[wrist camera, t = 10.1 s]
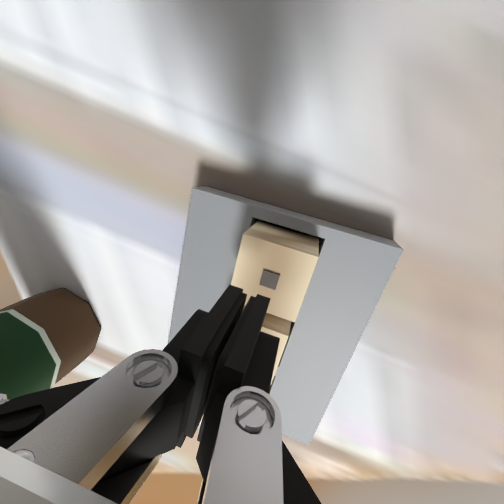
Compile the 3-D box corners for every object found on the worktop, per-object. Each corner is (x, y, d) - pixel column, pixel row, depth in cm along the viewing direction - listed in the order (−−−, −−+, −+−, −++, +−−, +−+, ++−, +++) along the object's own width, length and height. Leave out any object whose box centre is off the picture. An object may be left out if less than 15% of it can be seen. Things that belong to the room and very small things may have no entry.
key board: (393, 240, 16) (403, 249, 15) (309, 422, 22) (308, 445, 21) (205, 185, 18) (192, 187, 16) (173, 367, 24) (161, 383, 22)
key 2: (293, 306, 19) (288, 337, 15) (279, 349, 20) (270, 386, 17) (242, 288, 19) (225, 314, 16) (231, 331, 21) (213, 363, 17)
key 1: (318, 239, 16) (318, 257, 13) (299, 293, 18) (294, 323, 14) (258, 220, 17) (242, 234, 13) (244, 274, 18) (226, 299, 15)
